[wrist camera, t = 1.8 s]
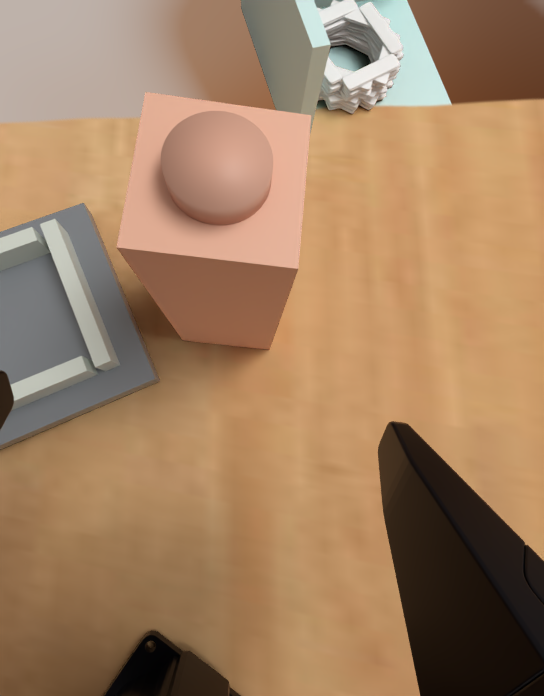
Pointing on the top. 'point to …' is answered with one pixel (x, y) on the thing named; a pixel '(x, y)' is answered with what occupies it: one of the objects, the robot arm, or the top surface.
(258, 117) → the pillar
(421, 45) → the l-shaped corner panel
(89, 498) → the top surface
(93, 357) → the socket plate
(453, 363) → the top surface
